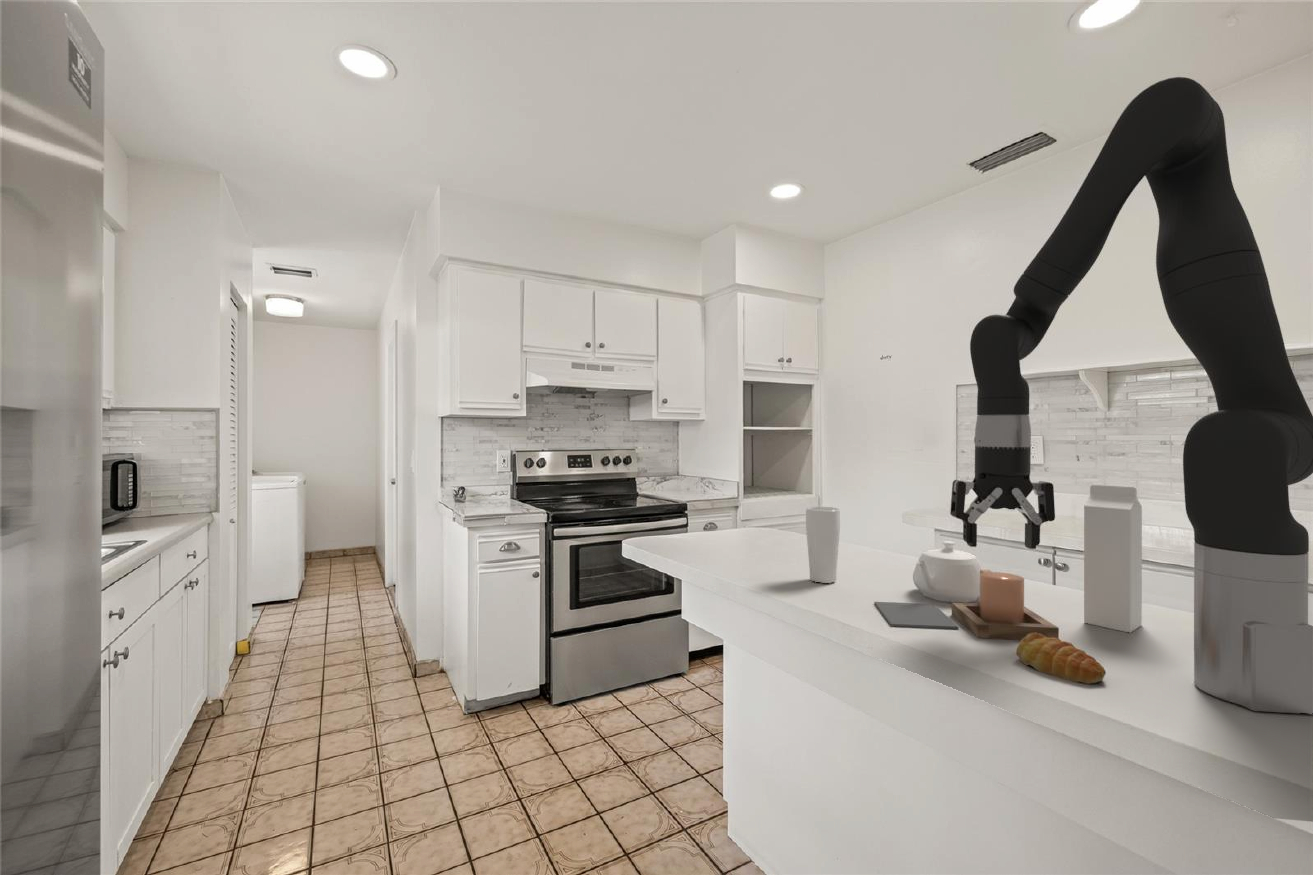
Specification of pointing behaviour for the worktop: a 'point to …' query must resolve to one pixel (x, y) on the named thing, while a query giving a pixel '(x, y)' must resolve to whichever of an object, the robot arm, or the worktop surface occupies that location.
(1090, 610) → the milk
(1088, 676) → the pastry
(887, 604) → the mat
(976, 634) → the wooden tray
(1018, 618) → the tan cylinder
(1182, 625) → the worktop surface
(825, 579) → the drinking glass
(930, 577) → the teapot
